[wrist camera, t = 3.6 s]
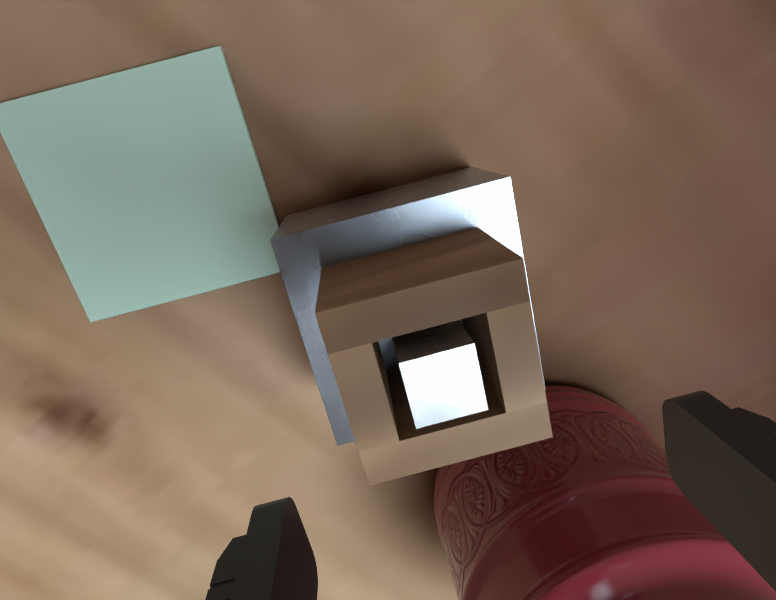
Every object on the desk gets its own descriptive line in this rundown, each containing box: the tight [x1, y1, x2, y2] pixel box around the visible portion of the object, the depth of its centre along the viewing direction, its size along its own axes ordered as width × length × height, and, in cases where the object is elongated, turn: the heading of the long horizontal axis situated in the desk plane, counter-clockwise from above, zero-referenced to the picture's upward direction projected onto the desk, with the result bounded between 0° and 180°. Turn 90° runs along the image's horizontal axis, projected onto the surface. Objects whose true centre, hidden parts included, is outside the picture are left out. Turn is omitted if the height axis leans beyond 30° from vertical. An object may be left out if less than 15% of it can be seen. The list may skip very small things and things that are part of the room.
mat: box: [0, 46, 280, 322], centre depth 23 cm, size 10×10×1 cm
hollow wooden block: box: [315, 227, 553, 486], centre depth 17 cm, size 6×6×5 cm
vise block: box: [270, 167, 545, 445], centre depth 20 cm, size 9×9×12 cm
